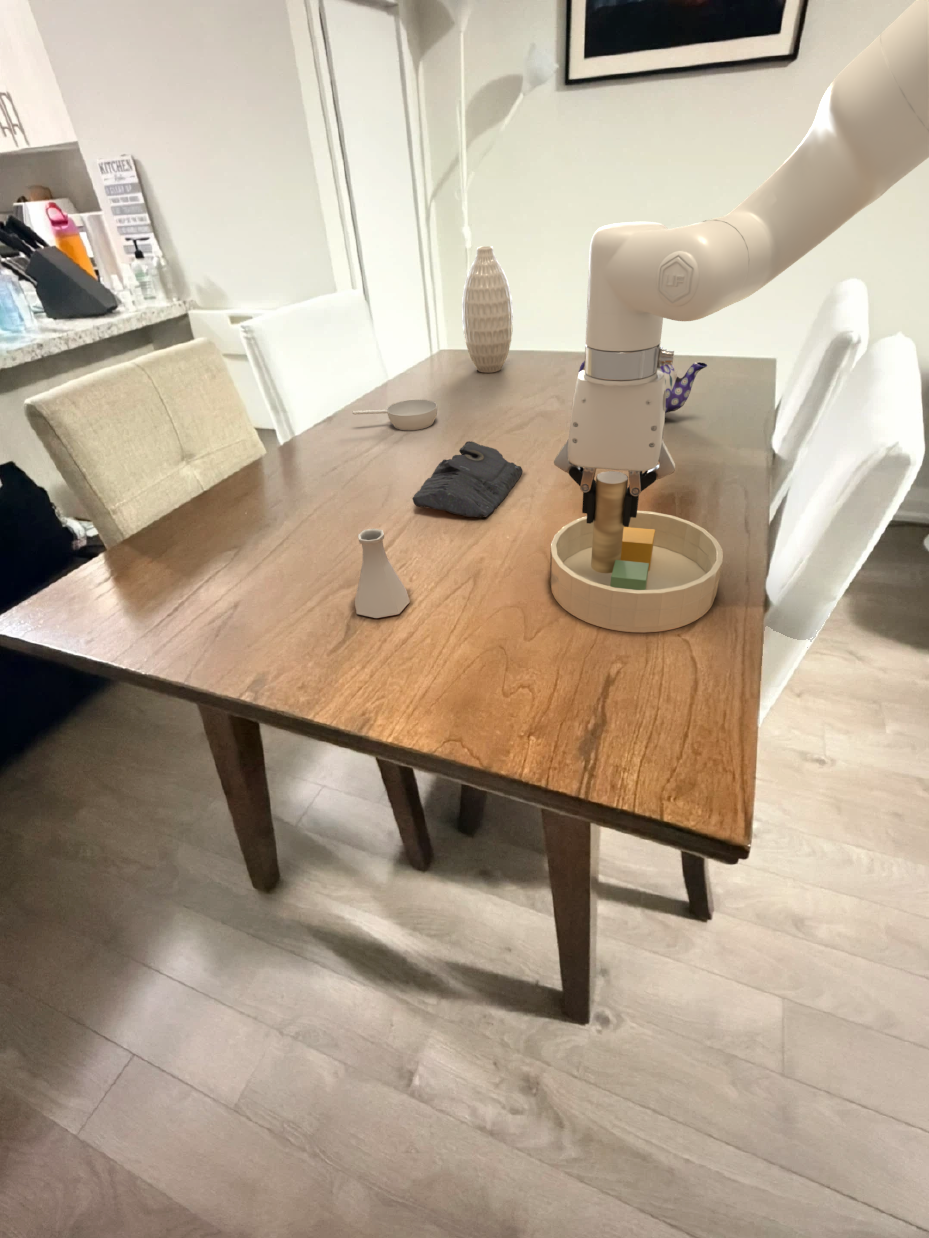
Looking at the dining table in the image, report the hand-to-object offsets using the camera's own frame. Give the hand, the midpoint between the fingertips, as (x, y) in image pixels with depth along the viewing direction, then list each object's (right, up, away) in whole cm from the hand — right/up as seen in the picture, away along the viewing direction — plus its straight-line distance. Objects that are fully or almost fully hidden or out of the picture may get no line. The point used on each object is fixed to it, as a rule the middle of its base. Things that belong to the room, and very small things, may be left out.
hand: (609, 518), depth 78 cm
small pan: (-32, +30, +61) cm, 75 cm away
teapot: (+18, +29, +55) cm, 65 cm away
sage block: (+3, -9, +1) cm, 10 cm away
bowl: (+4, -8, +5) cm, 10 cm away
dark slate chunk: (-17, +10, +32) cm, 37 cm away
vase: (-11, +54, +92) cm, 107 cm away
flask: (-28, -10, +5) cm, 30 cm away
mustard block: (+5, -4, +8) cm, 10 cm away
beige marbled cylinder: (0, -5, +4) cm, 7 cm away
